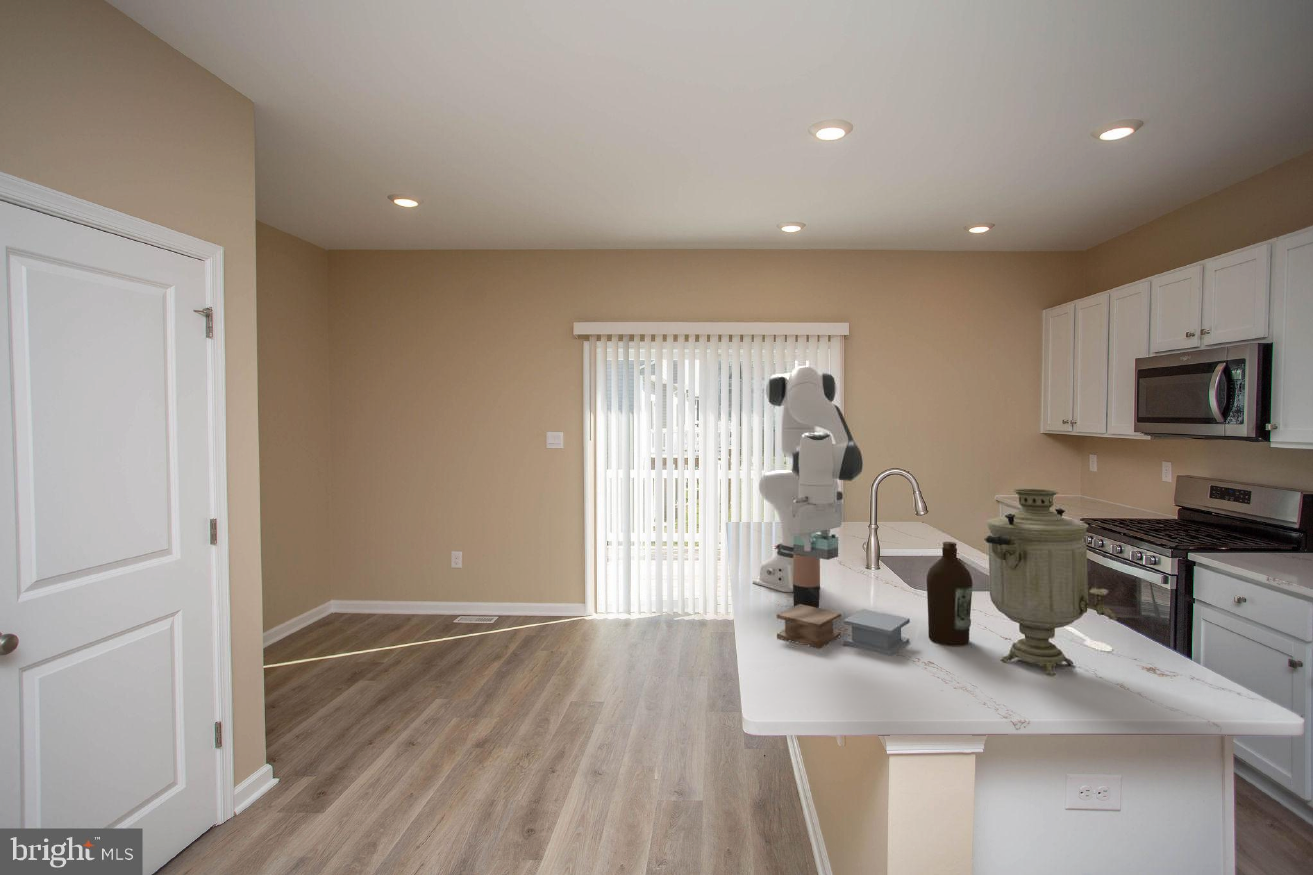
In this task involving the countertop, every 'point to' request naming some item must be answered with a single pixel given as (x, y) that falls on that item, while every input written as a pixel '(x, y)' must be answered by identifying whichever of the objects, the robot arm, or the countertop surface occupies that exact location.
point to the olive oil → (949, 599)
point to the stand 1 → (809, 625)
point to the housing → (818, 546)
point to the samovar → (1039, 575)
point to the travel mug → (806, 580)
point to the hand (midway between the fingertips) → (815, 548)
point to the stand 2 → (876, 631)
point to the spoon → (1090, 641)
